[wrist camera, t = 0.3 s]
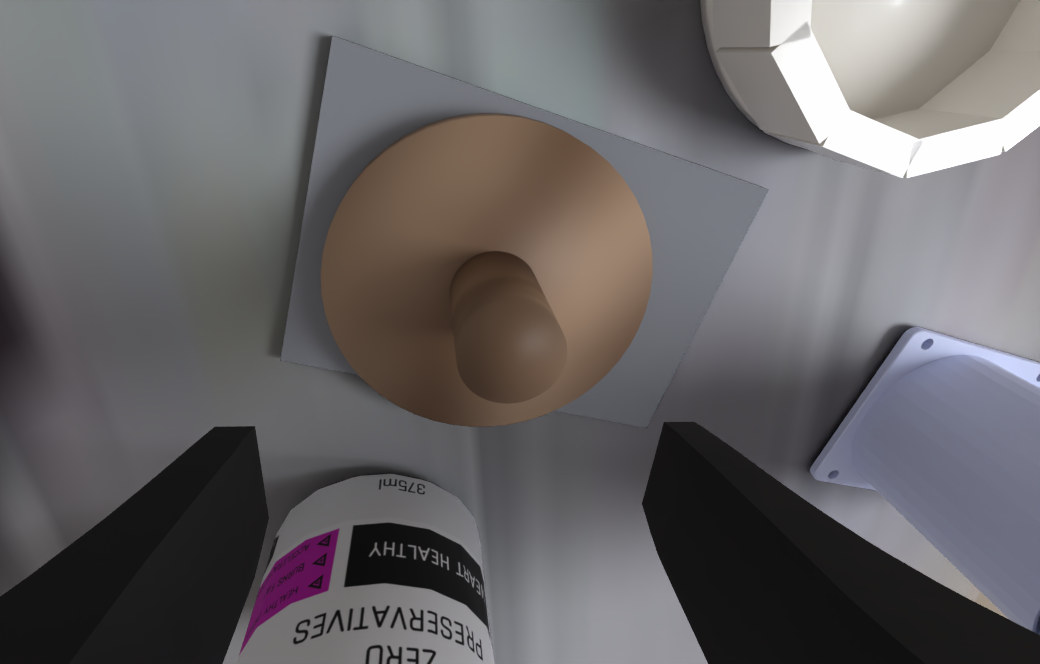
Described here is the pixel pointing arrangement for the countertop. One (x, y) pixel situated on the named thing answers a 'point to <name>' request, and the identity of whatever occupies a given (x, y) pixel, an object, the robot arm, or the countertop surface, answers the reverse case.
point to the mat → (648, 172)
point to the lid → (486, 270)
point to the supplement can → (373, 580)
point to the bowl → (882, 76)
